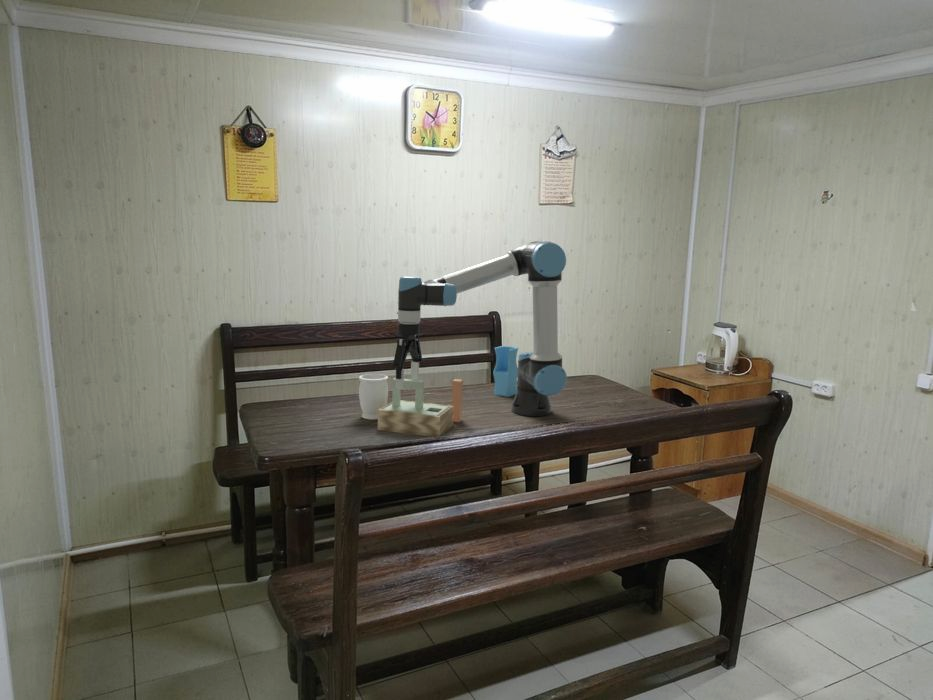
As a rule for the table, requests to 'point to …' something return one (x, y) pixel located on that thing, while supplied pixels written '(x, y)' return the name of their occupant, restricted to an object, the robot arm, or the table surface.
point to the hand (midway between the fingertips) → (407, 384)
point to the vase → (505, 371)
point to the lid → (418, 405)
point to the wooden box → (415, 421)
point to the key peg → (457, 399)
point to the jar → (372, 394)
